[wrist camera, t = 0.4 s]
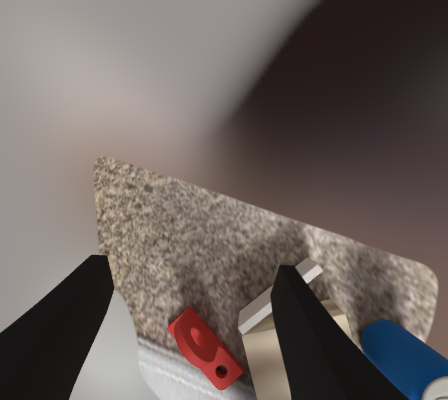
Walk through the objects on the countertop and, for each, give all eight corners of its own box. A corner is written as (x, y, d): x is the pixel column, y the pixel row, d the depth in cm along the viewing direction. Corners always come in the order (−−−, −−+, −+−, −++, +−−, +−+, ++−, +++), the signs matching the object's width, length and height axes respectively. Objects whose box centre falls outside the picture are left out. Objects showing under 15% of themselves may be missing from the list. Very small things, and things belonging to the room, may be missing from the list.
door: (311, 262, 35) (323, 270, 29) (243, 316, 35) (242, 334, 30) (307, 257, 35) (317, 264, 29) (239, 311, 35) (237, 328, 30)
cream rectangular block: (348, 362, 33) (367, 390, 28) (258, 379, 35) (259, 409, 29) (330, 298, 34) (345, 314, 29) (242, 317, 36) (241, 335, 30)
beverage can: (410, 364, 33) (502, 448, 21) (361, 365, 33) (424, 448, 21) (403, 316, 33) (489, 371, 21) (355, 318, 34) (412, 372, 22)
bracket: (169, 325, 37) (147, 354, 29) (189, 305, 37) (173, 329, 29) (221, 387, 35) (213, 436, 27) (243, 367, 35) (241, 410, 27)
